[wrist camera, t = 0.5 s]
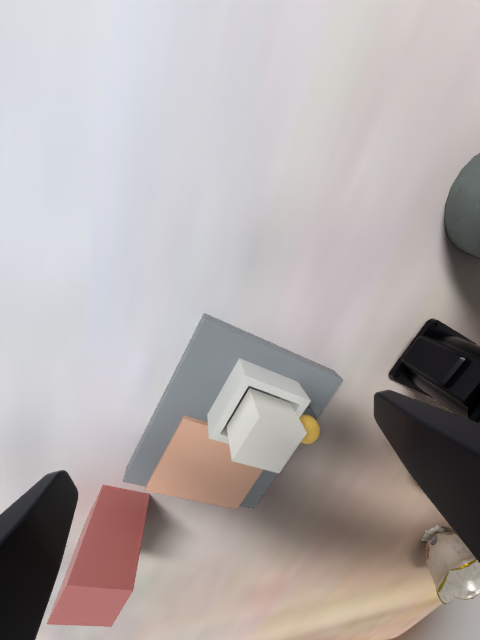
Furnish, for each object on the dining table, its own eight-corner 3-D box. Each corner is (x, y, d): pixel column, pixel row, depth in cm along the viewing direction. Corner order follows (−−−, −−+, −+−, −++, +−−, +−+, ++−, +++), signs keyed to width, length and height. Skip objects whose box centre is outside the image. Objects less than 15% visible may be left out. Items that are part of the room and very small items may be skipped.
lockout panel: (334, 370, 23) (364, 401, 19) (250, 493, 26) (260, 542, 22) (204, 313, 19) (206, 335, 15) (127, 466, 23) (112, 517, 19)
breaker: (290, 403, 19) (307, 432, 16) (267, 438, 20) (278, 473, 17) (249, 387, 18) (259, 416, 15) (226, 426, 19) (231, 460, 16)
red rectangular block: (149, 494, 24) (133, 590, 18) (133, 524, 25) (111, 626, 19) (103, 484, 23) (66, 585, 17) (87, 517, 24) (46, 624, 18)
